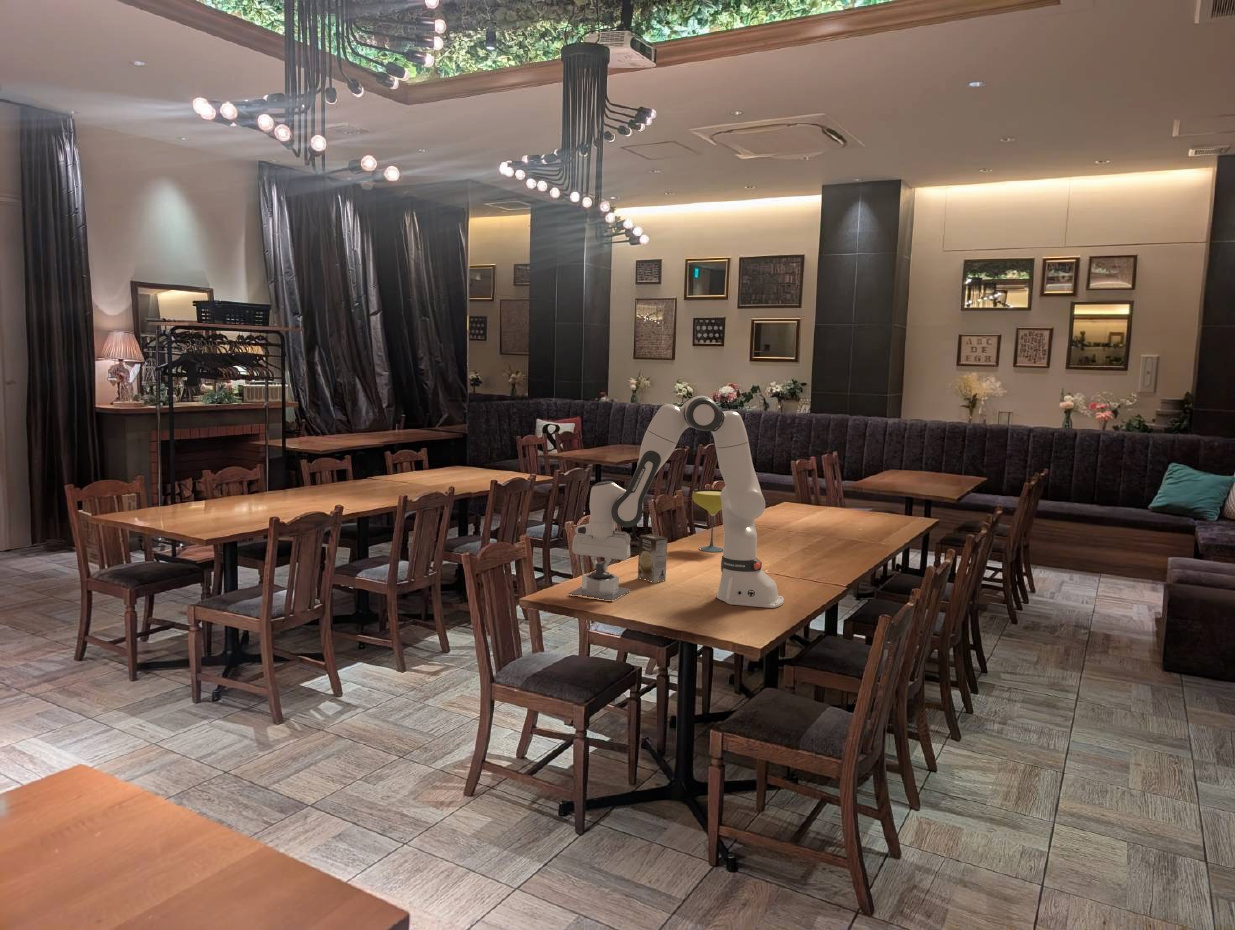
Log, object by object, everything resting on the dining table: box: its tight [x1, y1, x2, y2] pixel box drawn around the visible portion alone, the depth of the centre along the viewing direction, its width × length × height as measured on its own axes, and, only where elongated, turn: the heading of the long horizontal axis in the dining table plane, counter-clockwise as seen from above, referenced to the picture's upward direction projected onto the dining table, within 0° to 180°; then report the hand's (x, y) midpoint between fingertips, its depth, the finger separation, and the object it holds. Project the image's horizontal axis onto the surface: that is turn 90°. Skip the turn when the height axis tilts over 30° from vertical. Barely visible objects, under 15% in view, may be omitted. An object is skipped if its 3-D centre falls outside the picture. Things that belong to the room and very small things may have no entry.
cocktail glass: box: [691, 488, 723, 553], centre depth 375 cm, size 18×18×25 cm
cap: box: [591, 560, 610, 579], centre depth 295 cm, size 6×6×5 cm
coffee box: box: [637, 533, 668, 583], centre depth 318 cm, size 9×6×16 cm
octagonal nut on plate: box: [568, 572, 632, 600], centre depth 296 cm, size 16×16×6 cm
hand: (600, 569), depth 295 cm, fingers closed on cap
